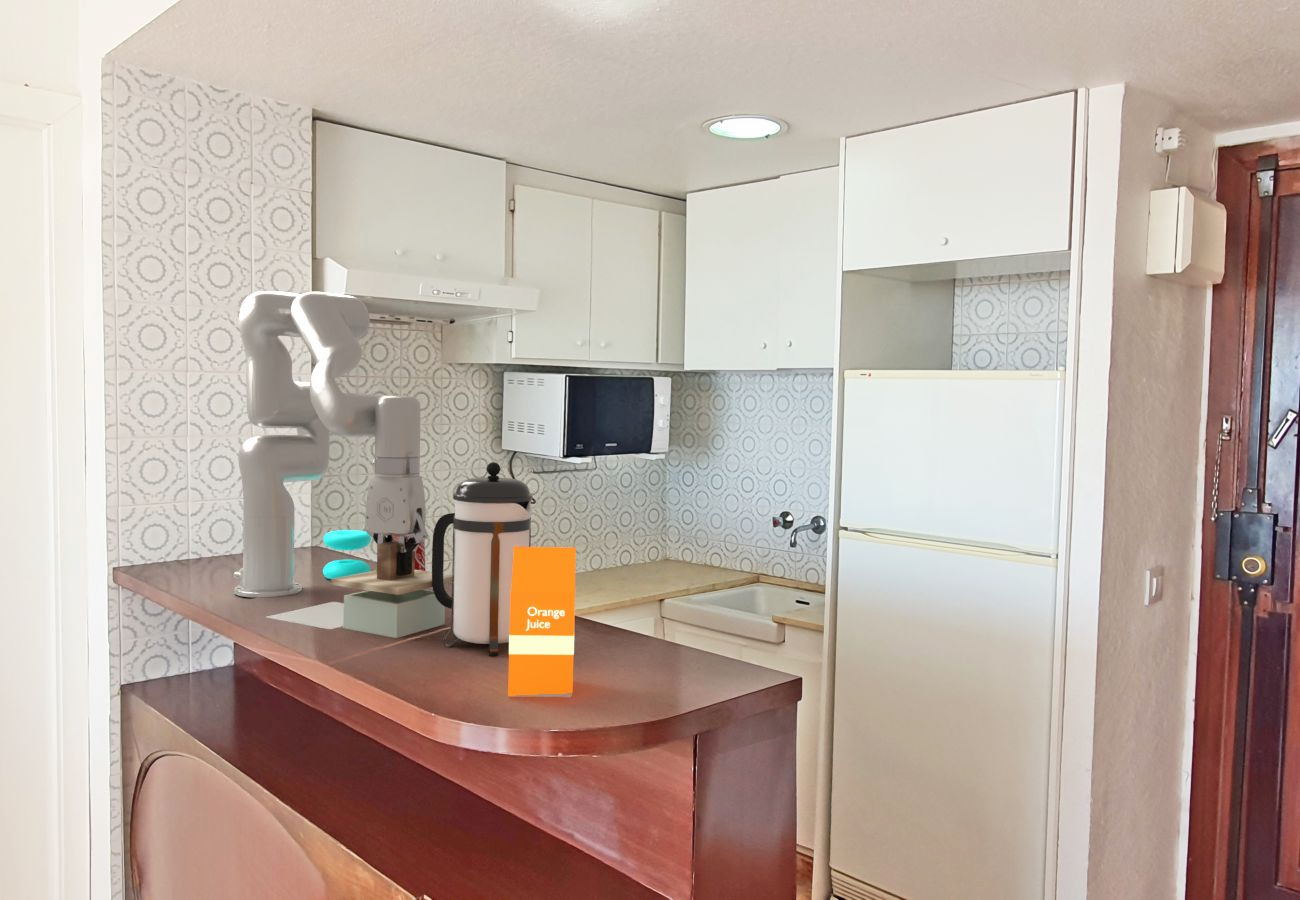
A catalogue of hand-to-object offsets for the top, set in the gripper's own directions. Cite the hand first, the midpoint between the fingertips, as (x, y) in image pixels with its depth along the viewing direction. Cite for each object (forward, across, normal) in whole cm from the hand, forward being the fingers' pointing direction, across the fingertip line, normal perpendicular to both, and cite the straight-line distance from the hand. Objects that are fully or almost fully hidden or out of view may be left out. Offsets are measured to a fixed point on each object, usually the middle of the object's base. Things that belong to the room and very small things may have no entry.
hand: (396, 572), depth 165 cm
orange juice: (+10, +41, -15) cm, 45 cm away
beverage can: (+10, -12, +17) cm, 23 cm away
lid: (+2, 0, 0) cm, 2 cm away
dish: (+10, 0, 0) cm, 10 cm away
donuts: (+10, -41, +29) cm, 51 cm away
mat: (+10, -15, 0) cm, 18 cm away
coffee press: (+10, +19, 0) cm, 21 cm away
